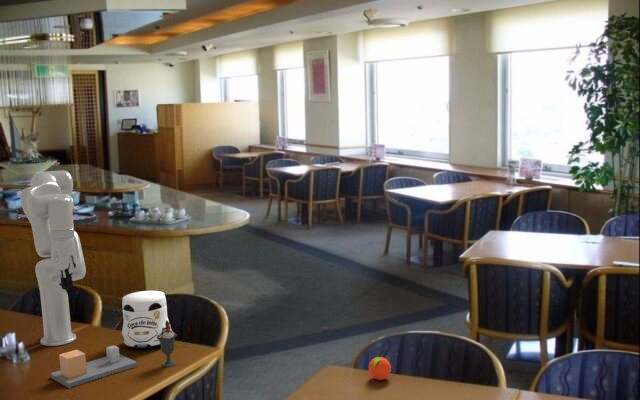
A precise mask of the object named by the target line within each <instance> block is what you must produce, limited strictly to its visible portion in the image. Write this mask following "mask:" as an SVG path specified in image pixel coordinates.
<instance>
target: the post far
mask: <svg viewBox="0 0 640 400" xmlns="http://www.w3.org/2000/svg"><path fill="white" fill-rule="evenodd" d="M105 349H106V357H107V362H109V363H111V364H113V363H117V362H120V357H119V354H120V347H118V346H117V345H114V344H113V345H110V346H107V347H106V348H105Z"/></svg>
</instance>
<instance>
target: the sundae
mask: <svg viewBox="0 0 640 400" xmlns="http://www.w3.org/2000/svg"><path fill="white" fill-rule="evenodd" d="M169 324H170V326H167V327H165V328H162V333H161V334H159V335H157V339H159V341H160V345H159V346H160V350H161V353H163V354H164V355H165V356H166V361H165V362H162V364H161V367H163V368H173V367H175V366H177V362H176V361H172V360H171V354H172V353H174V351H175V345H176V343H175V342H176V337H177V336H178V334H177V333H175V332H174V331H173V330H172V327H171V323H170V322H169ZM169 324H168V325H169ZM170 327H171V328H170Z"/></svg>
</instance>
